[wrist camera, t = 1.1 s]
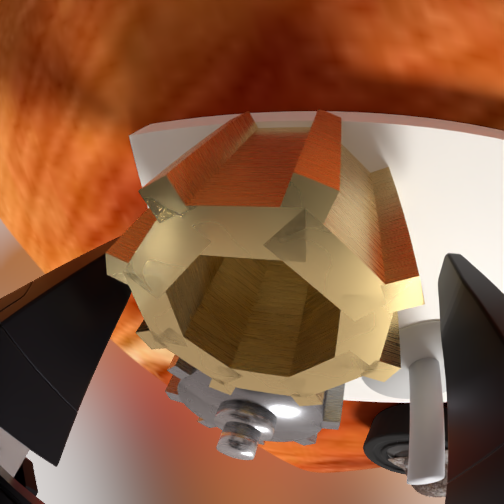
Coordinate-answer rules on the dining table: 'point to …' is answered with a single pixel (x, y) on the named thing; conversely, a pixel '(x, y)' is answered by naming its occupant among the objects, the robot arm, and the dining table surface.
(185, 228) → the brass gear
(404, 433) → the caster wheel
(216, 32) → the dining table surface
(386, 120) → the gear board
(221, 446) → the gear
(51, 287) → the robot arm
